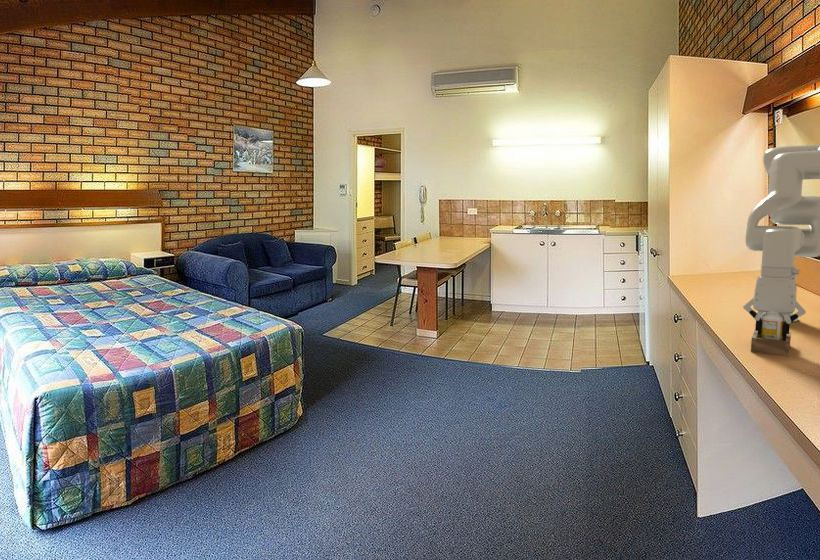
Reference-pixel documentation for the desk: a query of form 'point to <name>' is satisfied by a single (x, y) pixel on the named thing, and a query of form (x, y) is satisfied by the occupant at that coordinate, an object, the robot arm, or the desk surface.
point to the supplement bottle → (772, 326)
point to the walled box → (770, 345)
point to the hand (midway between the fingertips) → (771, 334)
